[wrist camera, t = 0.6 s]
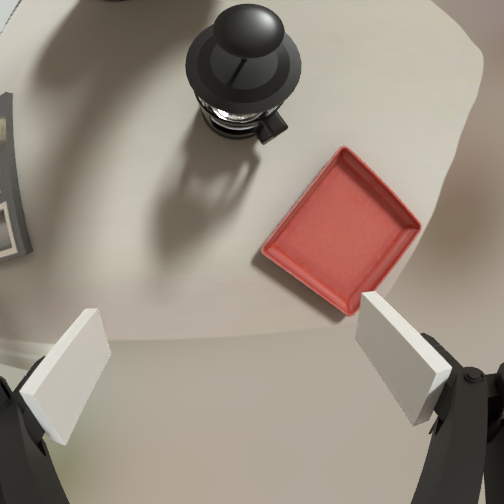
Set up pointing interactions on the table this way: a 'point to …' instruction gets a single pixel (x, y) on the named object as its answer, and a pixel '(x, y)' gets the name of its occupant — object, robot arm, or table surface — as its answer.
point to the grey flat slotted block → (11, 186)
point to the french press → (244, 72)
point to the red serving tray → (343, 233)
